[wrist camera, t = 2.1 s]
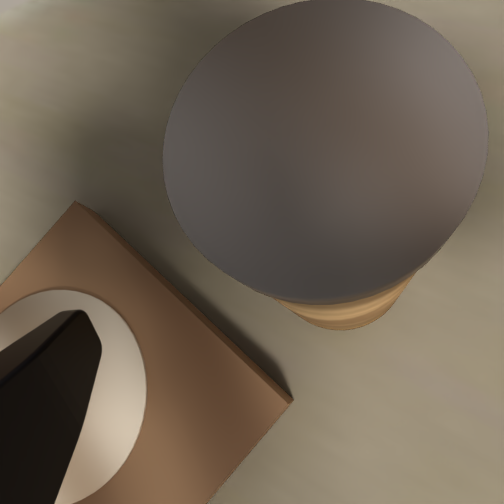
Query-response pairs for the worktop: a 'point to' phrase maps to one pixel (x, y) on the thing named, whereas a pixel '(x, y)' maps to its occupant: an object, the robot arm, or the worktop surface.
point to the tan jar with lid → (326, 155)
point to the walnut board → (141, 371)
